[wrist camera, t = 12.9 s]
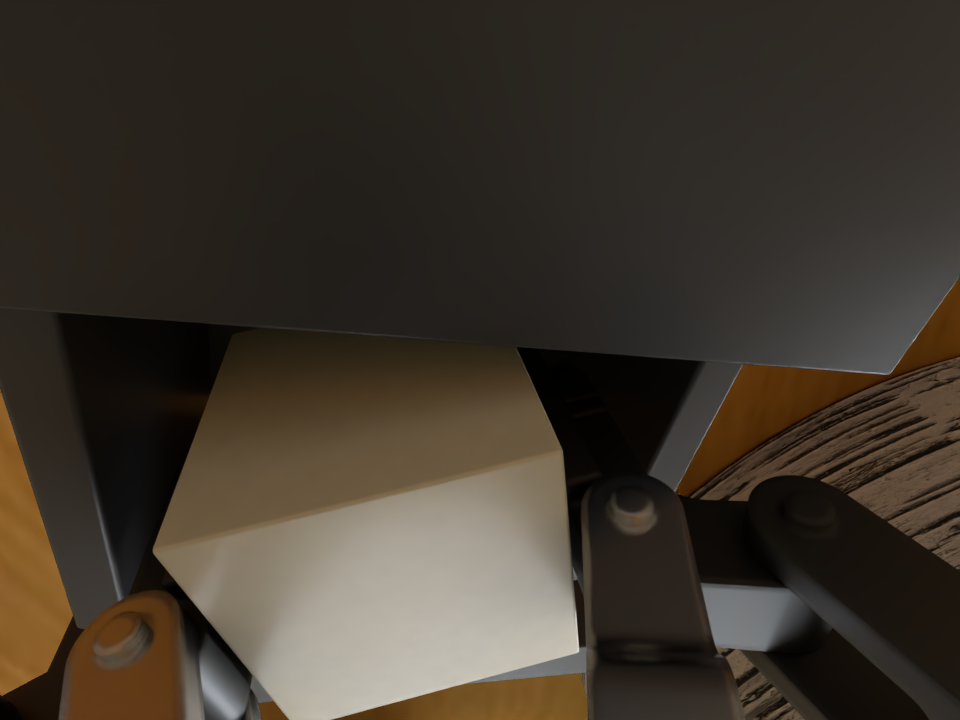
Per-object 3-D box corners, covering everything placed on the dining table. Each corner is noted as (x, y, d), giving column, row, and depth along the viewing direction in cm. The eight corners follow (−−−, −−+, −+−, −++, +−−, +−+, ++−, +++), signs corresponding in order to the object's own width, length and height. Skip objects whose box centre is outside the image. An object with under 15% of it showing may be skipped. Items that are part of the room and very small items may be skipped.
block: (315, 504, 12) (295, 730, 8) (230, 333, 9) (149, 552, 6) (513, 455, 12) (580, 654, 9) (485, 277, 10) (564, 450, 6)
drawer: (503, 527, 21) (564, 753, 15) (183, 532, 18) (91, 816, 12) (674, -1, 12) (1014, 2, 6) (95, -159, 9) (-470, -492, 3)
